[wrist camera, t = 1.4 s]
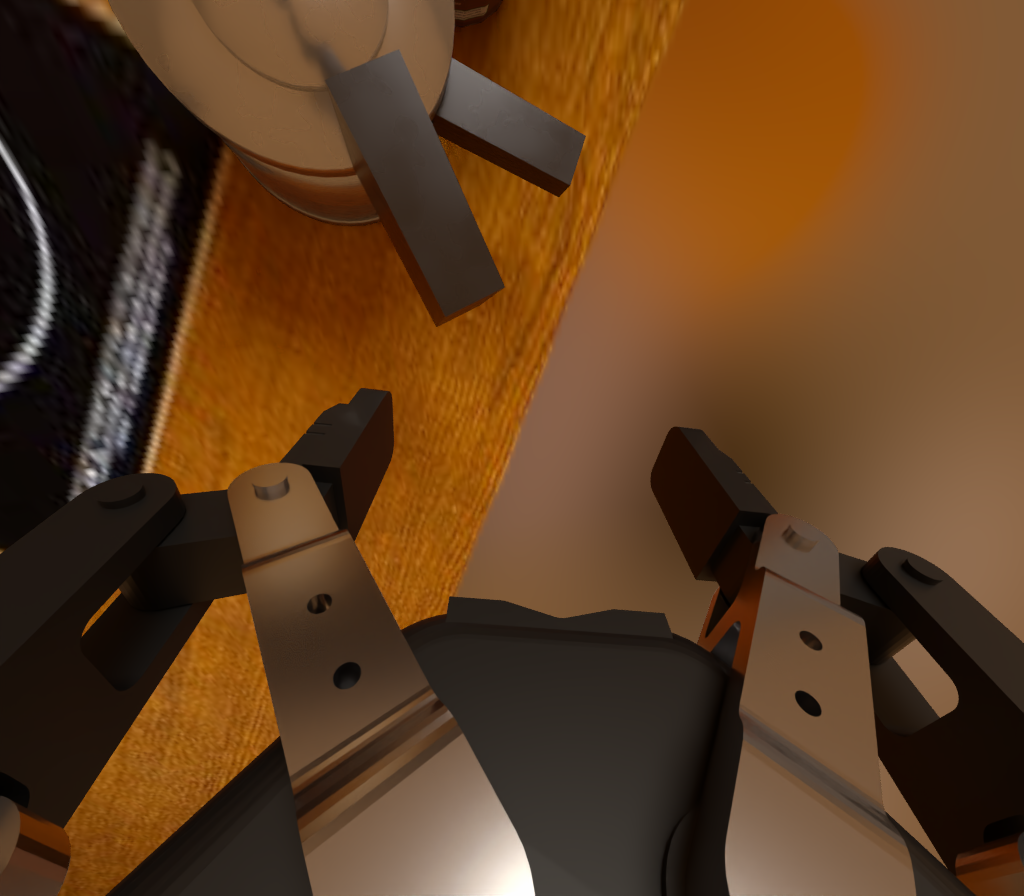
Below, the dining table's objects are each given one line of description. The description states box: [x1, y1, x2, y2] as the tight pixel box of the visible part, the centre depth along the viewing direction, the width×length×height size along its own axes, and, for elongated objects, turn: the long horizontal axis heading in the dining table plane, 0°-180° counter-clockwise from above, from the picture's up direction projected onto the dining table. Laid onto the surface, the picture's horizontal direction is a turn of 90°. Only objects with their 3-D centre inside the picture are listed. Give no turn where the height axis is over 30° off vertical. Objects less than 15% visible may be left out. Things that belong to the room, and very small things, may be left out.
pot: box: [222, 58, 586, 226], centre depth 24 cm, size 27×15×9 cm, turn 73°
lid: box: [108, 0, 505, 327], centre depth 17 cm, size 25×16×8 cm, turn 28°
